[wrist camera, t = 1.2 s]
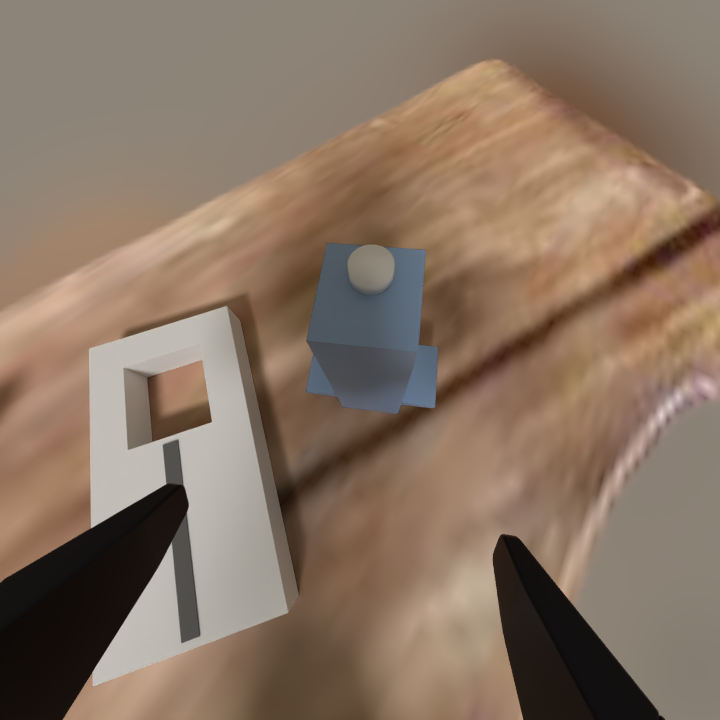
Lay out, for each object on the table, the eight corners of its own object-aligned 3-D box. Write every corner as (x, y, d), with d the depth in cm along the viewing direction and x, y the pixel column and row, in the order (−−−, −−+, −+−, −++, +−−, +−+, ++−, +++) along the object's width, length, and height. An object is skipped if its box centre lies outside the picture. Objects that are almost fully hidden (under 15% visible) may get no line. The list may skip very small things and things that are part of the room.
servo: (427, 417, 23) (487, 350, 10) (314, 403, 24) (242, 325, 11) (431, 359, 24) (486, 239, 12) (324, 348, 25) (271, 225, 13)
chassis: (299, 595, 19) (287, 613, 17) (128, 659, 19) (91, 687, 16) (240, 320, 26) (226, 305, 24) (115, 360, 26) (88, 348, 23)
